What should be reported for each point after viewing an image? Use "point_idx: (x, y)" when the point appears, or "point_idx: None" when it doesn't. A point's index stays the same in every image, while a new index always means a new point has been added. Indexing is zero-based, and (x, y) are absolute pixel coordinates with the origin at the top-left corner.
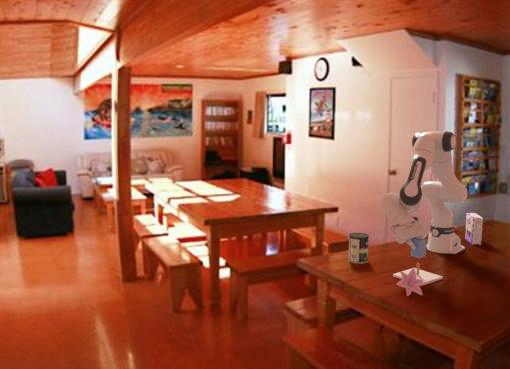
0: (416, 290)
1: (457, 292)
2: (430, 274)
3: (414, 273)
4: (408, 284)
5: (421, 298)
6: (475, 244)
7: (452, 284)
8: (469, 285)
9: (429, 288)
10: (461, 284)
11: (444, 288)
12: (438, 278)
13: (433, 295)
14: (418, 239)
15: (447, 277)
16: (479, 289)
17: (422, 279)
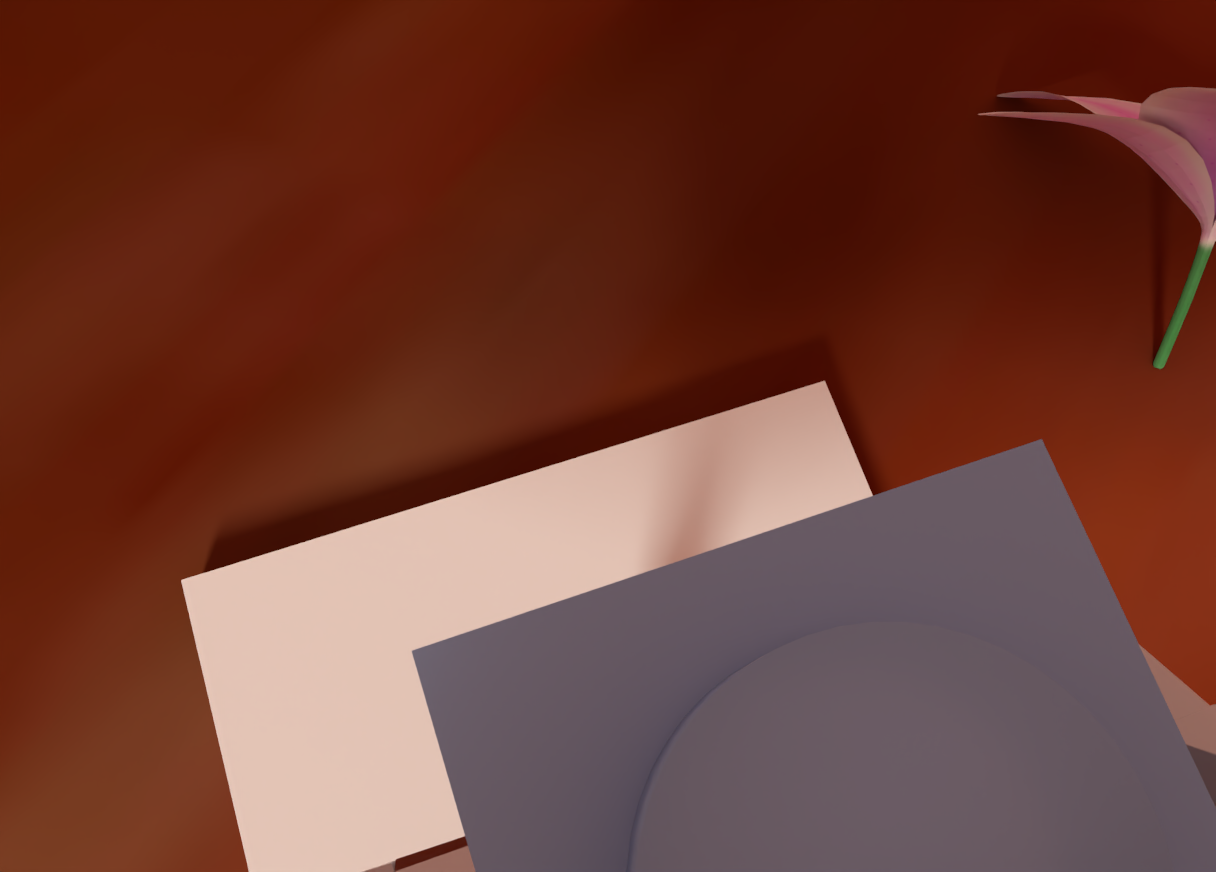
0: (1104, 102)
1: (429, 17)
2: (328, 771)
3: (1211, 93)
4: (1204, 217)
5: (1072, 8)
6: None
7: (240, 300)
8: (4, 177)
9: (738, 272)
10: (93, 253)
11: (504, 199)
12: (320, 540)
13: (847, 38)
14: (1021, 699)
15: (31, 635)
16: (9, 3)
17: (678, 557)
